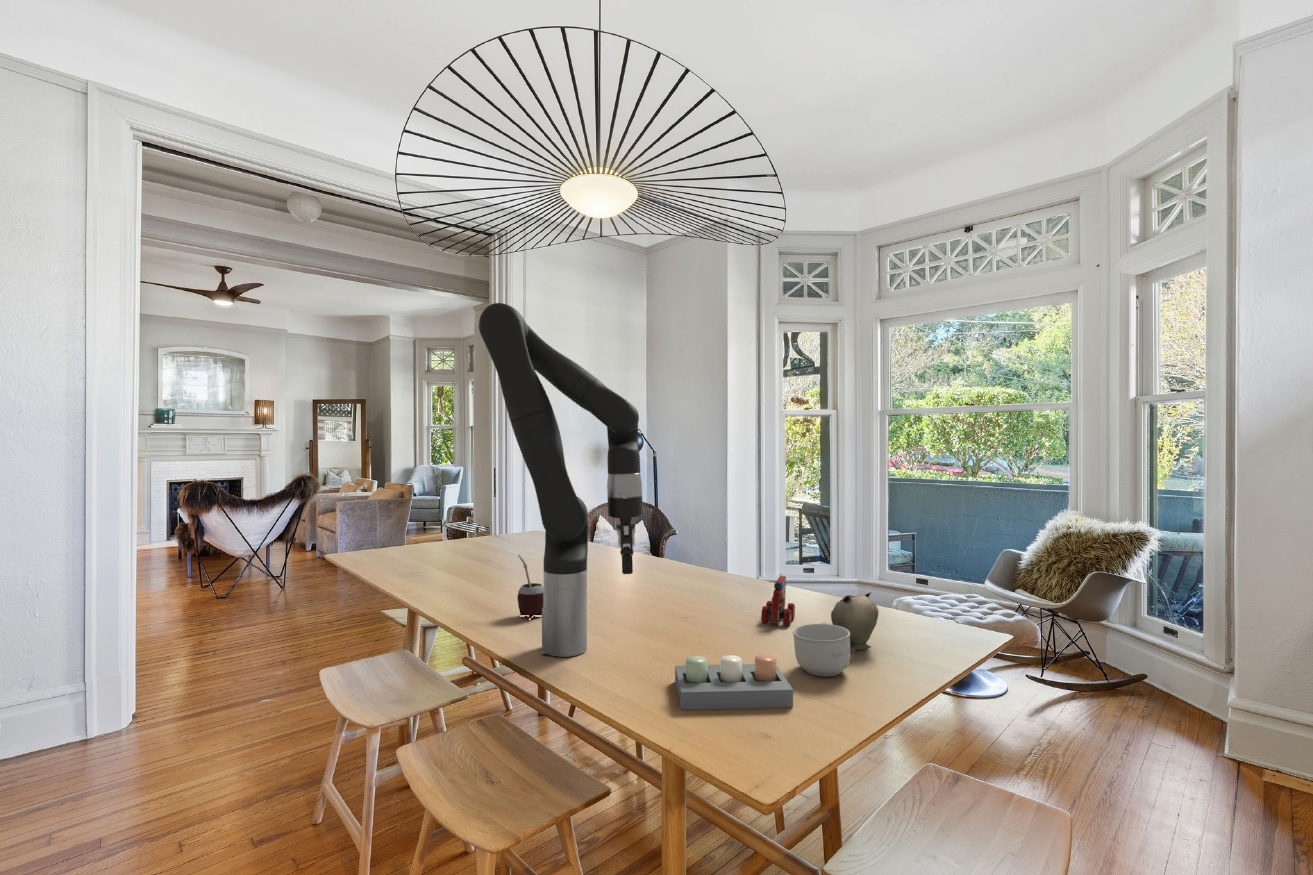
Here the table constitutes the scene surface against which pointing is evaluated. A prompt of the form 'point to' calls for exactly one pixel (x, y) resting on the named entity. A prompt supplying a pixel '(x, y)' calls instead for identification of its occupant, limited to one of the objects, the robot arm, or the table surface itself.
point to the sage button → (696, 669)
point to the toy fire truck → (778, 605)
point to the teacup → (822, 648)
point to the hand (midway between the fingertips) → (627, 569)
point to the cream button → (731, 669)
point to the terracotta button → (765, 668)
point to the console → (732, 691)
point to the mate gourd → (530, 596)
